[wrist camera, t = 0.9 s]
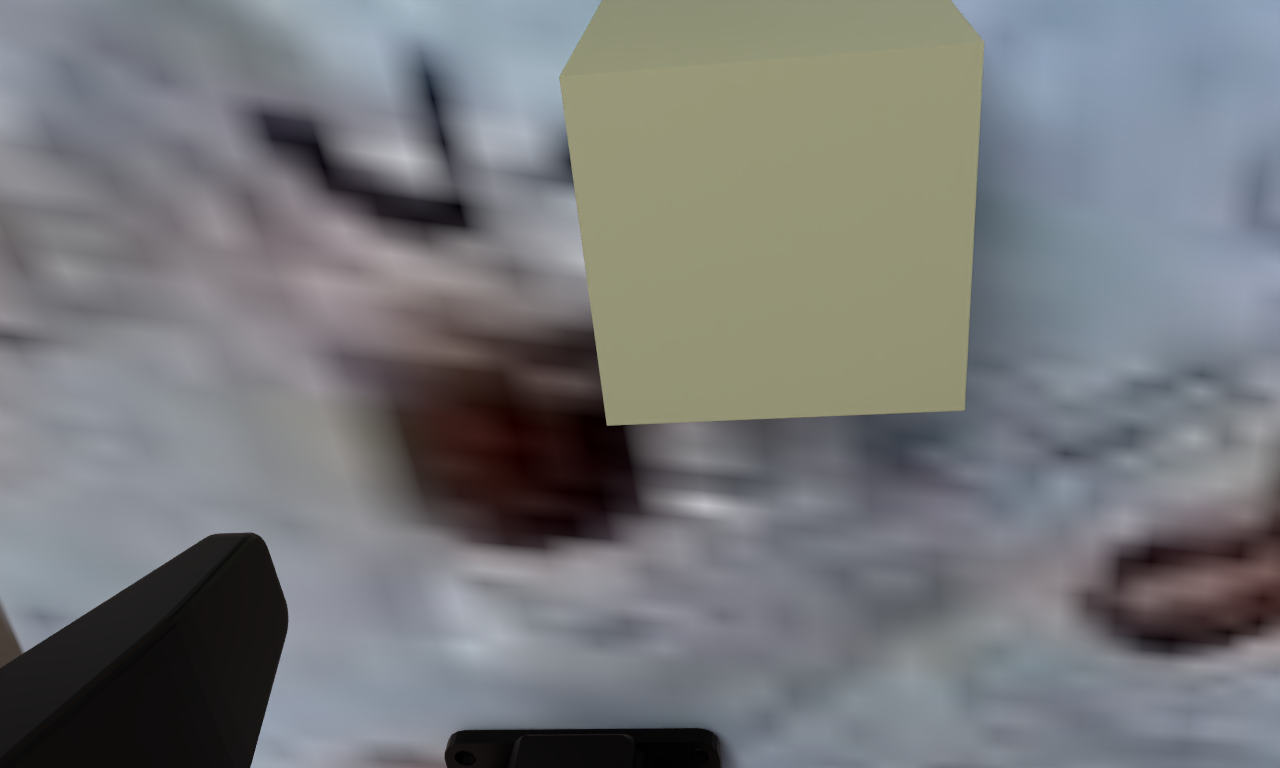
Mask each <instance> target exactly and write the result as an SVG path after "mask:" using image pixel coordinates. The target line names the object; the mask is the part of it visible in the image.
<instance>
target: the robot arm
mask: <svg viewBox="0 0 1280 768" xmlns="http://www.w3.org/2000/svg"><path fill="white" fill-rule="evenodd" d="M287 629H288V609H287V604H286V600H285V597H284V594H283V591H282V588H281V585H280V583H279V580H278V577H277V574H276V571H275V568H274V565H273V562H272V559H271V556H270V553H269V550H268V548H267V545H266V543H265V542H264V540H263V539H262V538H261V537H260V536H259V535H257V534H255V533H221V534H213V535H210V536H208V537H206V538H204V539H203V540H201V541H200V542H198V543H197V544H195V545H193V546H192V547H190V548H189V549H187V550H186V551H184V552H182V553H181V554H179V555H178V556H176V557H175V558H173V559H171V560H170V561H168V562H167V563H165V564H164V565H162V566H160V567H159V568H157V569H156V570H154V571H152V572H151V573H149V574H148V575H146V576H145V577H143V578H141V579H140V580H138V581H137V582H135V583H134V584H132V585H130V586H129V587H127V588H126V589H124V590H123V591H121V592H119V593H118V594H116V595H115V596H113V597H112V598H110V599H108V600H107V601H105V602H104V603H102V604H101V605H99V606H97V607H96V608H94V609H93V610H91V611H90V612H88V613H86V614H85V615H83V616H82V617H80V618H79V619H77V620H75V621H74V622H72V623H71V624H69V625H68V626H66V627H64V628H63V629H61V630H60V631H58V632H57V633H55V634H53V635H52V636H50V637H49V638H47V639H46V640H44V641H42V642H41V643H39V644H38V645H36V646H35V647H33V648H31V649H30V650H28V651H27V652H25V653H24V654H22V655H20V656H19V657H17V658H16V659H14V660H13V661H11V662H9V663H8V664H6V665H5V666H3V667H2V668H0V768H250V766H251V763H252V759H253V756H254V752H255V748H256V745H257V741H258V737H259V734H260V730H261V726H262V723H263V719H264V715H265V712H266V708H267V704H268V701H269V697H270V693H271V690H272V686H273V682H274V679H275V675H276V671H277V668H278V664H279V660H280V657H281V653H282V649H283V646H284V642H285V638H286V634H287ZM695 749H699V750H703V751H695ZM465 751H468V752H465ZM445 761H446V765H447V768H722V761H721V751H720V742H719V740H718V737H717V736H716V735H714V734H713V733H712V732H710V731H708V730H706V729H699V728H665V729H555V730H464V731H458V732H456V733H454V734H452V735H451V737H450V738H449V740H448V744H447V747H446V750H445Z"/></svg>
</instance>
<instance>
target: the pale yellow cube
mask: <svg viewBox="0 0 1280 768" xmlns="http://www.w3.org/2000/svg"><path fill="white" fill-rule="evenodd" d="M983 57H984V41H983V40H982V39H981V37H980V36H979V35H978V34H977V32H976V31H975V30H974V29H973V27H972V26H971V25H970V24H969V22H968V21H967V20H966V19H965V17H964V16H963V15H962V14H961V13H960V11H959V10H958V9H957V8H956V6H955V5H954V4H953V3H952V1H951V0H602V2H601V3H600V5H599V7H598V9H597V11H596V12H595V14H594V16H593V18H592V19H591V21H590V23H589V25H588V27H587V28H586V30H585V32H584V34H583V35H582V37H581V39H580V41H579V43H578V44H577V46H576V48H575V50H574V51H573V53H572V55H571V57H570V59H569V60H568V62H567V64H566V66H565V68H564V69H563V71H562V73H561V75H560V76H559V78H560V85H561V92H562V100H563V107H564V114H565V122H566V129H567V136H568V144H569V151H570V158H571V166H572V173H573V180H574V188H575V195H576V202H577V209H578V217H579V224H580V231H581V239H582V246H583V253H584V261H585V268H586V275H587V283H588V290H589V297H590V305H591V312H592V319H593V326H594V334H595V341H596V348H597V356H598V363H599V370H600V378H601V385H602V392H603V400H604V407H605V414H606V422H607V425H630V424H654V423H678V422H702V421H726V420H750V419H774V418H798V417H822V416H846V415H870V414H894V413H918V412H942V411H965V395H966V376H967V357H968V338H969V319H970V301H971V282H972V263H973V244H974V226H975V207H976V188H977V169H978V151H979V132H980V113H981V94H982V75H983Z"/></svg>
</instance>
